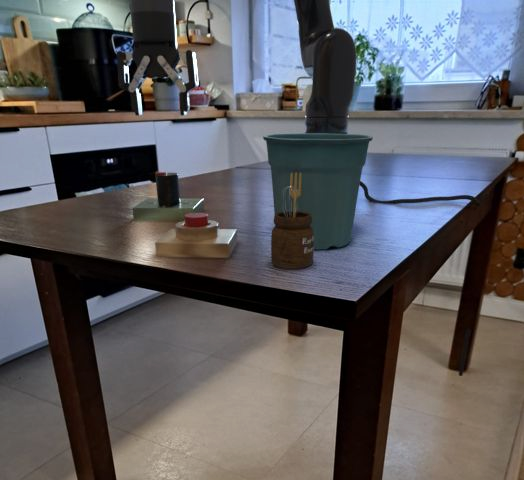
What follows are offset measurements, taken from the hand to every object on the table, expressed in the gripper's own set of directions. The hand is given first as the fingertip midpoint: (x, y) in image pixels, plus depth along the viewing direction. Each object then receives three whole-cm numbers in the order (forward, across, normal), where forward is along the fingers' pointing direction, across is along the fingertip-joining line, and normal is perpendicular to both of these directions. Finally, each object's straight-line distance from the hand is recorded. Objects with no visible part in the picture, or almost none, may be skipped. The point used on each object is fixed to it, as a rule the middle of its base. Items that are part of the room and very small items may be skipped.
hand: (161, 115), depth 96 cm
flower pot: (+18, -29, +18) cm, 39 cm away
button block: (+18, -11, +25) cm, 33 cm away
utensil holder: (+18, -26, +32) cm, 45 cm away
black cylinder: (+16, 0, 0) cm, 16 cm away
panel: (+18, 0, 0) cm, 19 cm away
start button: (+15, -11, +25) cm, 31 cm away
